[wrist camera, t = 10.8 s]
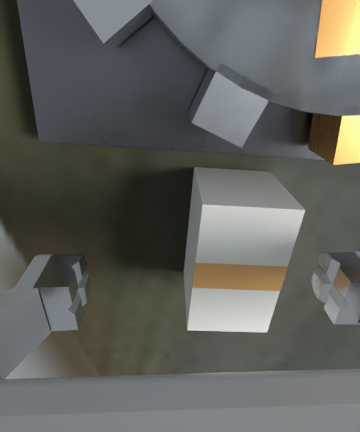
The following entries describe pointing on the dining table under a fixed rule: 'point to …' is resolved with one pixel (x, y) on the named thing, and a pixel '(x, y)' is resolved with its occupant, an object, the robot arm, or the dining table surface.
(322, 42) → the sprocket
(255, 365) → the dining table surface
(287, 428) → the robot arm
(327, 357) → the dining table surface
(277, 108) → the base plate
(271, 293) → the link block
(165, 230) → the dining table surface
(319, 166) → the dining table surface
